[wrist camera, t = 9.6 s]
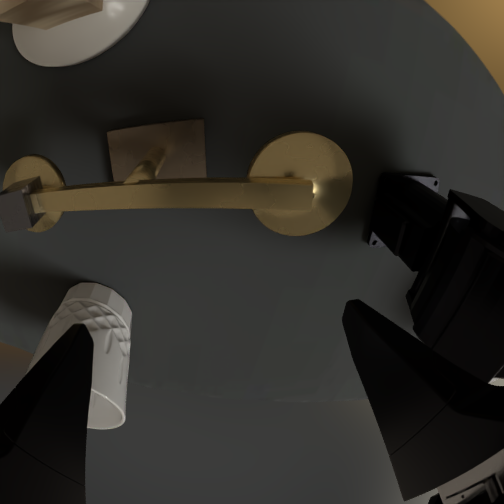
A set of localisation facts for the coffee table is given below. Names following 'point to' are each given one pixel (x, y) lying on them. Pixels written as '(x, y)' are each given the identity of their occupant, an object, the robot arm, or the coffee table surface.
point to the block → (46, 11)
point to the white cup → (97, 347)
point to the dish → (79, 35)
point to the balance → (188, 180)
